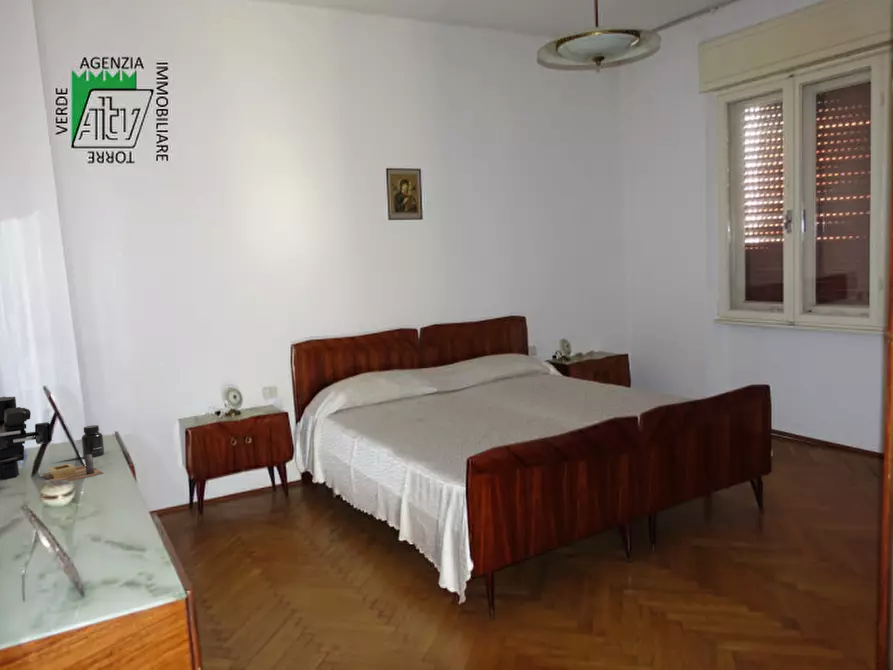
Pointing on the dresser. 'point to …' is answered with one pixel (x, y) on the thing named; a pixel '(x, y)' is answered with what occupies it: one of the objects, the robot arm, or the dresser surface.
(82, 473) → the keeper board
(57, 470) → the wooden square frame
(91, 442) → the supplement bottle
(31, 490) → the dresser surface
